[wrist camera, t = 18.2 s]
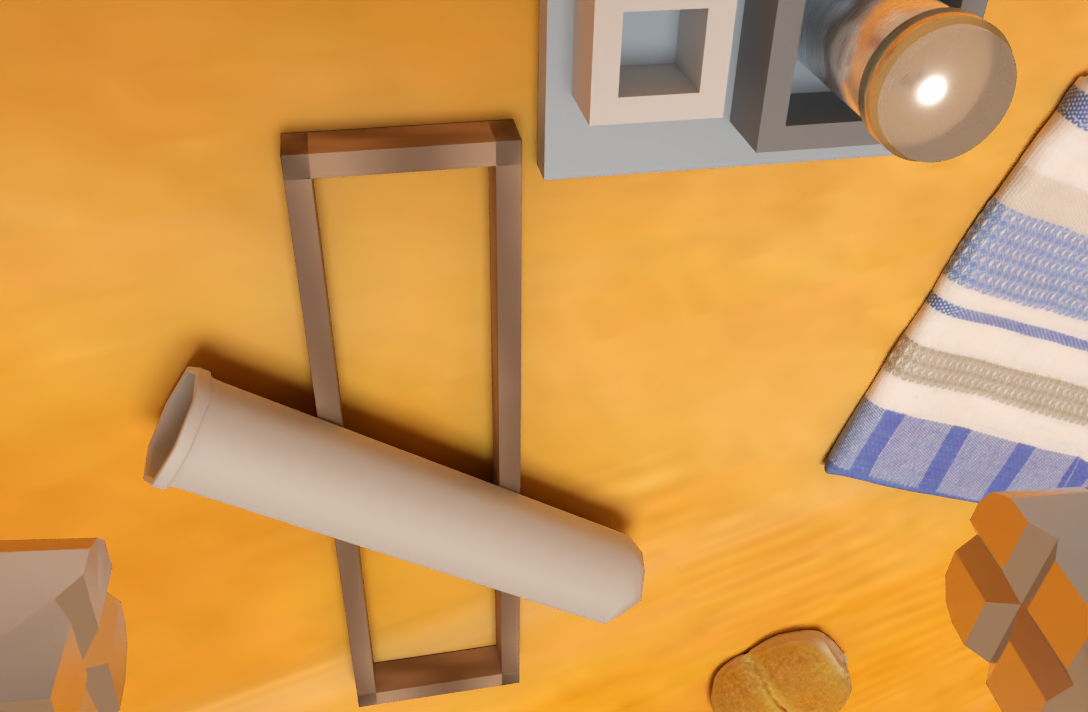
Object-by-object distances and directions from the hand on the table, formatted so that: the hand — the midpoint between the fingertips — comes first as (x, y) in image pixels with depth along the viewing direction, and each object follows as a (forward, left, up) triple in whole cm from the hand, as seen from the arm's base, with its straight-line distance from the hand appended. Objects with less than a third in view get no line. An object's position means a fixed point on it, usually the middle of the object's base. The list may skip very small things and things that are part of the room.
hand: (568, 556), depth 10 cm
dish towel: (+34, -22, -33) cm, 52 cm away
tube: (0, -27, -31) cm, 41 cm away
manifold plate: (+14, -5, -32) cm, 35 cm away
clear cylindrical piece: (+17, -5, -30) cm, 35 cm away
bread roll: (+22, -48, -32) cm, 62 cm away
